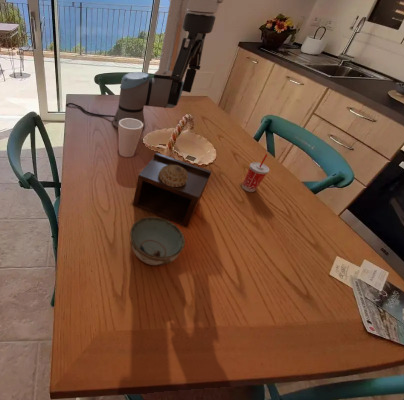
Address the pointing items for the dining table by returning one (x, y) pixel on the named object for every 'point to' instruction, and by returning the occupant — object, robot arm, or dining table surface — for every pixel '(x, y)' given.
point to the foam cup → (129, 136)
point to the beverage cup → (255, 175)
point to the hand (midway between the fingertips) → (179, 97)
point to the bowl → (156, 240)
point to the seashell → (173, 175)
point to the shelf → (170, 190)
